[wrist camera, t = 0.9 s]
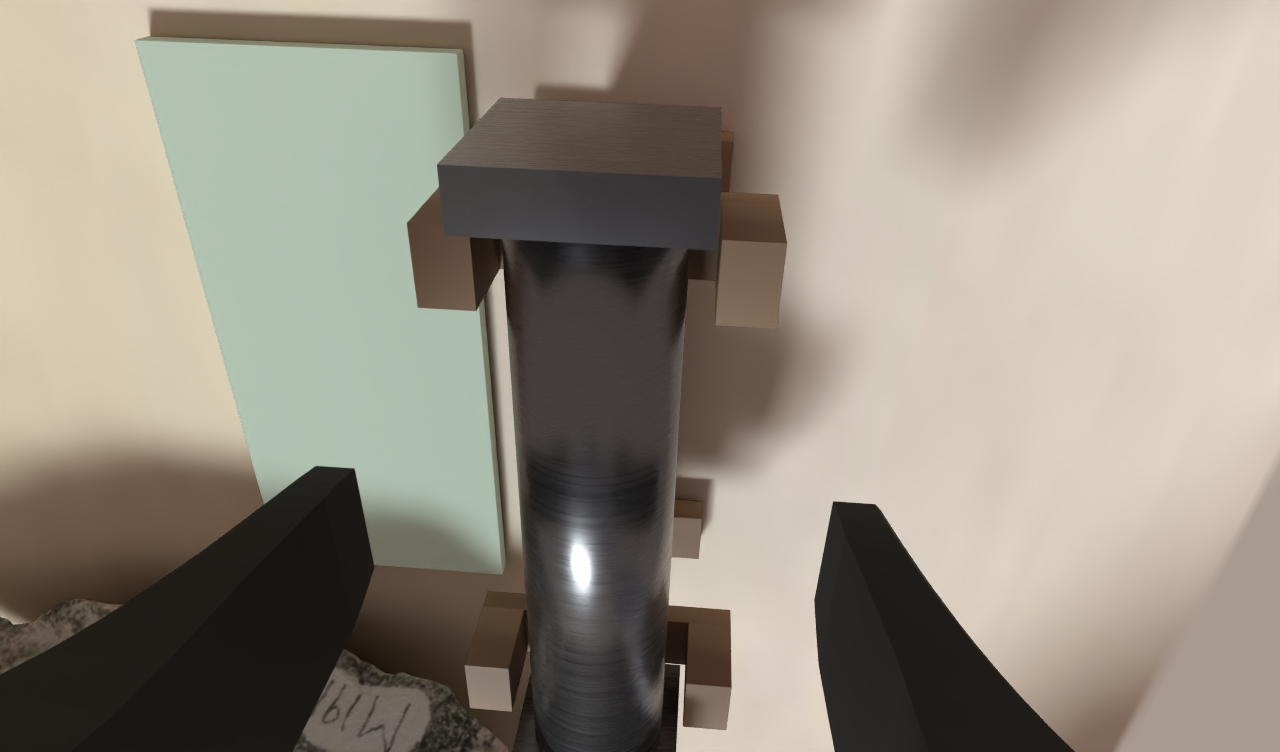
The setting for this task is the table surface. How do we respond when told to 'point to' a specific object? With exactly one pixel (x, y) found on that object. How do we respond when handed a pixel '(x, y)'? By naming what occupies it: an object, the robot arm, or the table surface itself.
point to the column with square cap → (593, 388)
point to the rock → (345, 713)
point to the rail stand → (694, 635)
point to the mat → (336, 277)
